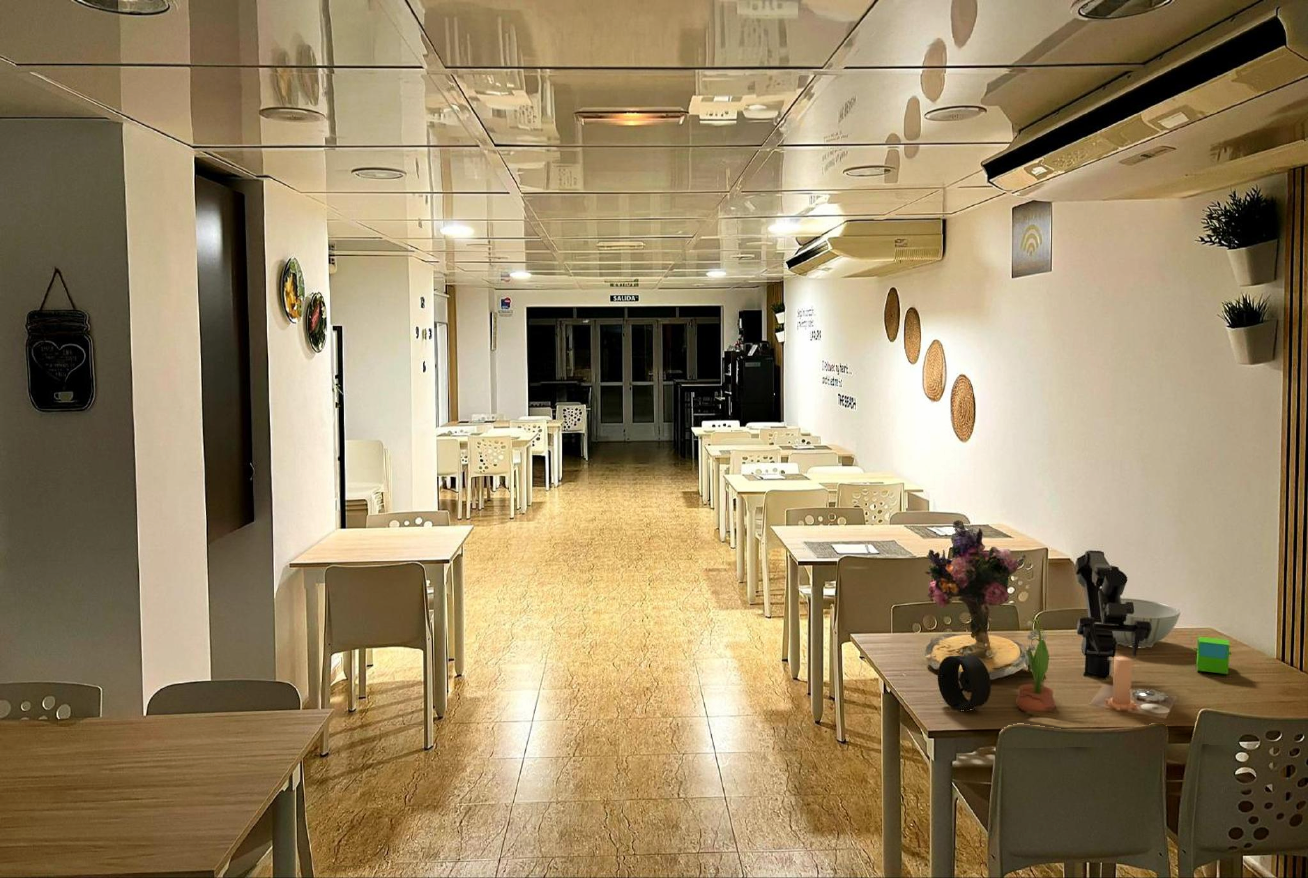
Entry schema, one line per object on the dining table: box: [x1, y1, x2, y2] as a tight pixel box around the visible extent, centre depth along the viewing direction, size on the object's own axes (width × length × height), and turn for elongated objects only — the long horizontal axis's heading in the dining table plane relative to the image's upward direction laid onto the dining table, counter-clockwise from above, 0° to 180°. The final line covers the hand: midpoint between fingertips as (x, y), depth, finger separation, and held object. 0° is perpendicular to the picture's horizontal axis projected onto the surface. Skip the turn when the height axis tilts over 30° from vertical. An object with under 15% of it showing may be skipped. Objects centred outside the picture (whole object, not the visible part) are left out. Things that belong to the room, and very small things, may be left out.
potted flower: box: [1015, 617, 1056, 712], centre depth 291 cm, size 12×10×25 cm
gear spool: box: [1106, 656, 1137, 711], centre depth 289 cm, size 8×8×13 cm
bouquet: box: [924, 519, 1031, 681], centre depth 326 cm, size 33×44×45 cm
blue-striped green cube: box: [1193, 636, 1232, 676], centre depth 329 cm, size 10×13×10 cm
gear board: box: [1088, 684, 1178, 719], centre depth 295 cm, size 19×21×2 cm
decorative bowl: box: [1112, 597, 1181, 648], centre depth 357 cm, size 27×27×12 cm
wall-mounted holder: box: [937, 655, 992, 712], centre depth 292 cm, size 14×14×10 cm
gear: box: [1132, 688, 1168, 704], centre depth 297 cm, size 9×9×2 cm
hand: (1117, 654), depth 296 cm, fingers open, 9 cm apart
